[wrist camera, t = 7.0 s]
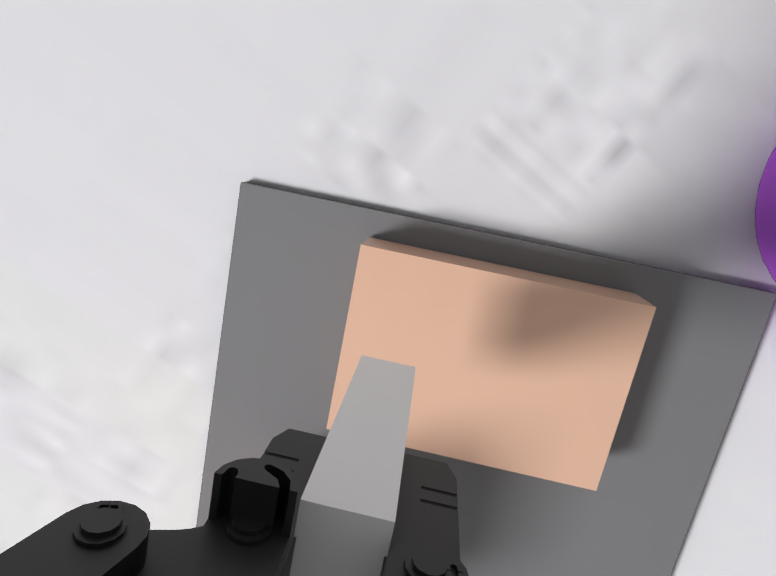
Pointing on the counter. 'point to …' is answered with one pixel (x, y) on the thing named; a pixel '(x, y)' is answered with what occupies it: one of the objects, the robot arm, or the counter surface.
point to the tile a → (497, 358)
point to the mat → (474, 481)
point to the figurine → (767, 215)
